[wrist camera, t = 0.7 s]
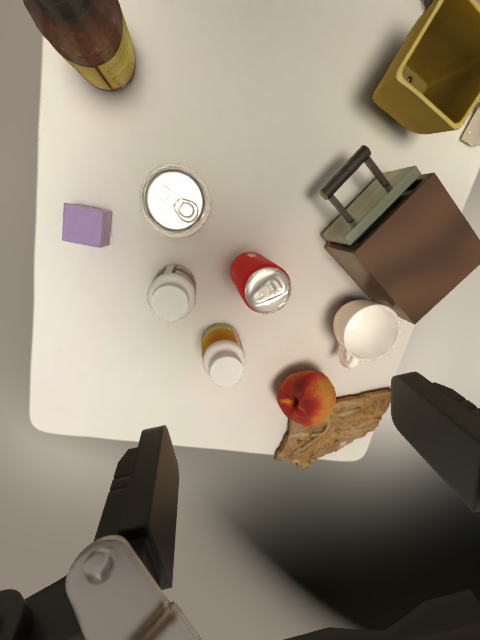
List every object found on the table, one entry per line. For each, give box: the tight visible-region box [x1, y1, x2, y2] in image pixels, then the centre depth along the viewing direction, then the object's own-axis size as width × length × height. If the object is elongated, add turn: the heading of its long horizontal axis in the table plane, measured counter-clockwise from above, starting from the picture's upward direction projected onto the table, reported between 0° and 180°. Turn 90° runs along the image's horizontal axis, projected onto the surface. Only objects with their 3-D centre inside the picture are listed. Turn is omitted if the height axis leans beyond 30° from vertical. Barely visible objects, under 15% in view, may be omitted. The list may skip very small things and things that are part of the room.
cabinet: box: [324, 173, 480, 324], centre depth 40 cm, size 13×12×9 cm
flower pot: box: [373, 0, 480, 134], centre depth 34 cm, size 9×9×9 cm
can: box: [140, 164, 210, 237], centre depth 33 cm, size 6×6×12 cm
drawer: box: [319, 145, 421, 248], centre depth 39 cm, size 17×10×7 cm, turn 46°
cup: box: [333, 299, 401, 369], centre depth 44 cm, size 8×10×7 cm
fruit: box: [277, 370, 336, 427], centre depth 45 cm, size 8×8×8 cm
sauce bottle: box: [23, 0, 135, 91], centre depth 24 cm, size 7×6×20 cm
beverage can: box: [231, 253, 291, 314], centre depth 37 cm, size 5×5×12 cm
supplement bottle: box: [202, 324, 246, 387], centre depth 41 cm, size 5×5×10 cm
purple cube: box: [62, 203, 112, 248], centre depth 36 cm, size 4×4×4 cm
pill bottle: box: [147, 265, 196, 322], centre depth 37 cm, size 5×5×10 cm
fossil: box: [274, 389, 391, 469], centre depth 52 cm, size 21×13×2 cm, turn 96°
